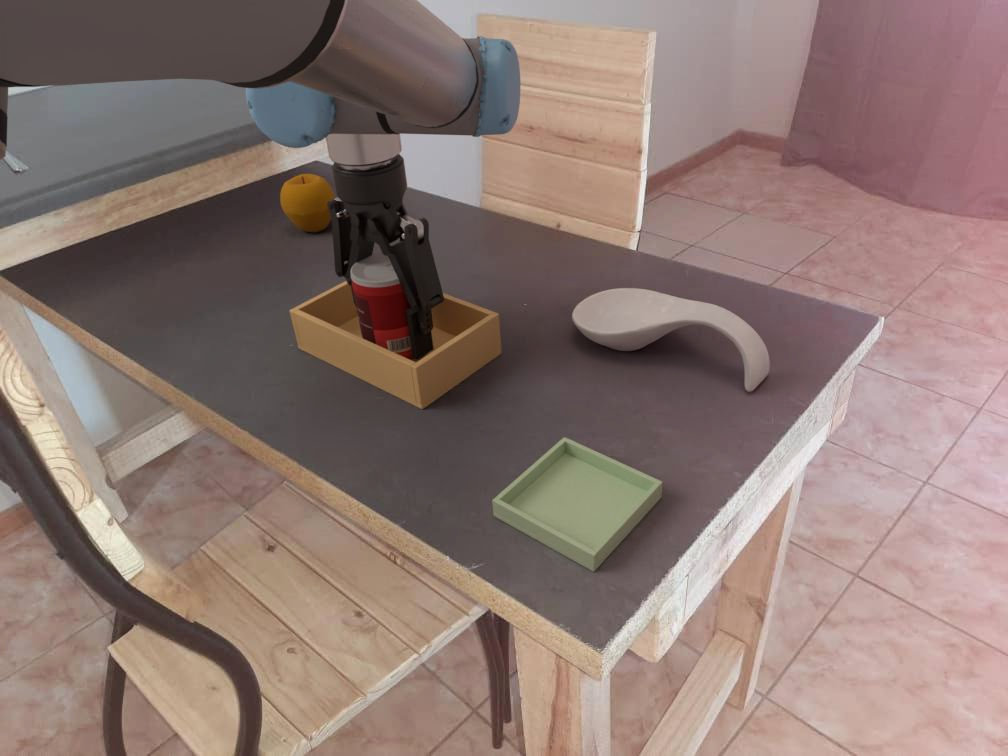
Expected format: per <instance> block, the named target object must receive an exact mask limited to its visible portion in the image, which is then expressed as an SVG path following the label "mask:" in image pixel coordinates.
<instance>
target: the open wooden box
mask: <svg viewBox="0 0 1008 756" xmlns="http://www.w3.org/2000/svg"><path fill="white" fill-rule="evenodd" d="M443 296H444V301H443V302H442V303H440V304H439V305H437V306H435V307H434V308H432V309H431V312H432V320H433V330H431V333H432V341H433V350H432V351H430V352H429V353H427V354H426V355H424V356H423V357H421V358H419V359H418V360H417V359H415V358H414V359H411V360H409V359H407V358H405V357H403V356H401V355H398V354H396V353H394V352H392V351H389V350H387V349H385V348H383V347H381V346H378V345H376V344H374V343H372V342H369V341H367V340H365V339H363V338H362V334H361V329H360V324H359V319H358V313H357V308H356V306H355V304H354V300H353V295H352V290H351V286H350V285H349V284H348V283H347V281H346V280H345V281H343V282H341V283H339V284H337V285H335V286H333V287H331V288H329V289H328V290H326V291H324V292H322V293H320V294H318V295H316V296H314V297H312V298H310V299H308V300H307V301H305V302H303V303H301V304H299V305H297V306H295V307H293V308H291V309H289V314H290V318H291V323H292V326H293V331H294V334H295V339H296V343H297V347H298V350H301V351H302V352H305V353H307V354H309V355H311V356H313V357H315V358H317V359H319V360H321V361H323V362H325V363H327V364H329V365H331V366H333V367H335V368H337V369H340V370H341V371H343V372H345V373H348V374H350V375H352V376H353V377H356V378H358V379H360V380H361V381H364V382H365V383H368V384H369V385H372V386H374V387H375V388H378V389H380V390H381V391H384V392H386V393H388V394H389V395H392V396H394V397H396V398H398V399H400V400H403V402H406V403H409V404H410V405H412V406H415V407H416V408H419V409H421V410H424V409H425V408H427V407H428V406H429V405H431V404H432V403H434V402H435V401H436V400H438V399H439V398H440V397H442V396H444V395H445V394H447V393H448V392H449V391H450V390H452V389H454V388H455V387H456V386H458V385H459V384H460V383H462V382H463V381H465V380H466V379H468V378H469V377H470V376H472V375H473V374H475V373H476V372H477V371H479V370H481V369H482V368H483V367H485V366H486V365H487V364H489V363H490V362H491V361H493V360H494V359H496V358H497V357H499V356H500V355H501V354H502V341H501V326H500V314H499V313H498V312H495V311H494V310H491V309H487V308H485V307H482V306H480V305H476V304H474V303H472V302H469V301H466V300H463V299H460V298H458V297H455V296H452V295H450V294H447V293H445V292H443Z"/></svg>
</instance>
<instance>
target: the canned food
mask: <svg viewBox="0 0 1008 756" xmlns="http://www.w3.org/2000/svg"><path fill="white" fill-rule="evenodd" d="M350 272H351V281H352V287H353V292H354V297H355V302H356V307H357V312H358V317H359V322H360V328H361V333H362V338H363V339H365V340H367V341H369V342H372V343H374V344H376V345H378V346H381V347H383V348H385V349H387V350H389V351H392V352H394V353H396V354H398V355H401V356H403V357H405V358H407V359H409V360H411V359H414V358H413V354H412V348H411V341H410V334H409V328H408V321H407V314H406V309H407V308H409V307H411V306H410V304H409V302H408V300H407V297H406V295H405V293H404V291H403V288H402V286H401V284H400V282H399V278H398V277H397V275H396V273H395V271H394V268H393V266H392V264H391V262H390V259H389V257H388V256H385V255H383V253H382V252H377V253H374V254H373V253H372V255H371V256H369V257H367V258H365V259H364V260H361V261H359V262H357V263H355V264H354V265H353V266H352V268H351V271H350ZM418 298H419V296H418Z"/></svg>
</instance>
